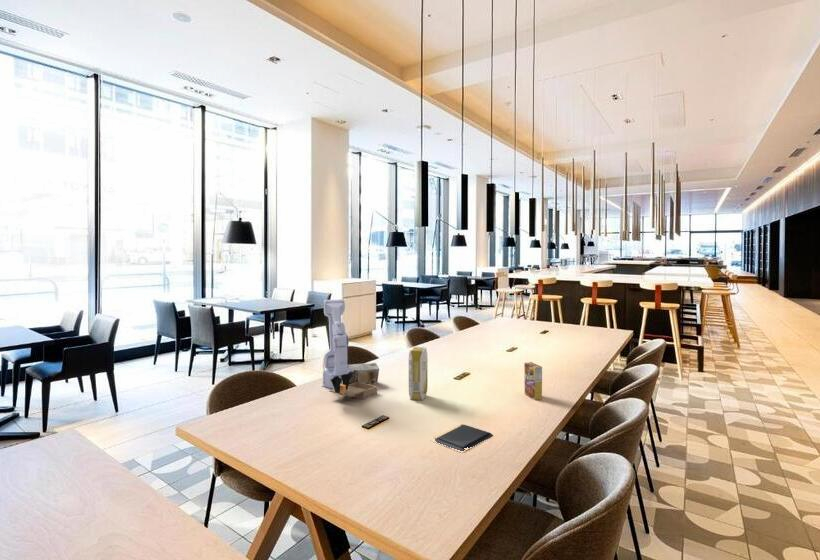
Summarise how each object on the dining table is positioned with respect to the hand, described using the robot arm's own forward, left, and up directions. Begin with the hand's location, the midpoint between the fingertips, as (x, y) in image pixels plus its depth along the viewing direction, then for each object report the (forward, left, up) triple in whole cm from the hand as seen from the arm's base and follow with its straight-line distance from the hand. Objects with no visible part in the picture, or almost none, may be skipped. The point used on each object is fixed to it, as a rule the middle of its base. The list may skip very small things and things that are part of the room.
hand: (341, 391), depth 200 cm
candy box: (+70, +54, -5) cm, 88 cm away
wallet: (+63, -4, -6) cm, 64 cm away
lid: (0, +4, -1) cm, 4 cm away
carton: (0, +13, -5) cm, 14 cm away
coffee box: (-4, +31, 0) cm, 31 cm away
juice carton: (+26, +24, -5) cm, 36 cm away
